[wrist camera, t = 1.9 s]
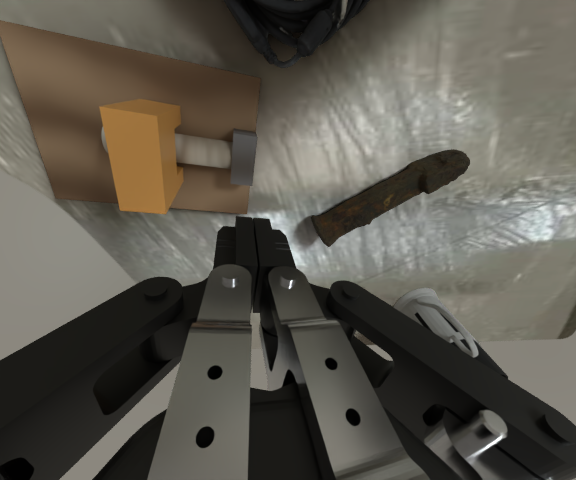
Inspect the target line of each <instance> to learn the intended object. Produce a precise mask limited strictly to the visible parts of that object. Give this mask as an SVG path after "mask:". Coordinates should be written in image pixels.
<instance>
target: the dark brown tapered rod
mask: <svg viewBox="0 0 576 480" xmlns="http://www.w3.org/2000/svg"><path fill="white" fill-rule="evenodd" d="M469 165H470V159H469V158H468V157H467V155H466V154H465V153H463V152H462V151H458V150H446V151H442V152H439V153H435V154H432V155H429V156H427V157H426V158H423V159H420V160H417V161H415V162H412V163H410V164H409V165H408V166H407V169H406V170H404V171H403V172H401V173H399V174H397V175H395V176H393V177H391V178H389V179H388V180H386V181H384V182H381V183H379V184H377V185H375V186H373V187H372V188H371V189H369V190H367V191H365V192H363V193H361V194H359V195H357V196H355V197H353V198H351V199H350V200H347V201H345V202H344V203H343V204H341V205H339V206H337V207H335V208H334V209H332V210H330V211H329V212H327V213H325V214H323V215H320V216H314V215H312V217H311V218H312V221H313V224H314V227H315V229H316V231H317V233H318V236H319V237H320V238H321V240H322V241H323V243H324V244H325V245H327V246H328V247H330V246H331V245H332V244H333V243H334V242H335V241H336V240H337V239H338V238H339V237H341V236H343V235H345V234H346V233H348V232H350V231H351V230H353V229H355V228H357V227H361V226H365V225H366V224H370V223H371V221H372V220H373V219H374V218H376V217H378V216H380V215H381V214H383V213H385V212H387V211H389V210H391V209H393V208H394V207H396V206H398V205H400V204H402V203H403V202H405V201H407V200H409V199H410V198H412V197H414V196H416V195H420V193H422V192H425V193H427V194H430V193H432V192H434V191H436V190H438V189H439V188H440V187H442V186H444V185H448V184H449V183H450V181H454V180H456V179H457V178H458V176H460V175H462V174H464V173H465V171H466V170H467V168H468V166H469Z"/></svg>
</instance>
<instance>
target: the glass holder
mask: <svg viewBox="0 0 576 480" xmlns="http://www.w3.org/2000/svg"><path fill="white" fill-rule="evenodd" d="M393 307H394V308H395V309H397V310H398V311H400V312H402V313H403V314H405V315H406V316H408V317H410V318H411V319H413V320H414V321H416V322H418V323H419V324H421V325H422V326H424V327H425V328H427V329H429V330H430V331H432V332H433V333H435V334H437V335H438V336H440V337H441V338H443V339H445V340H446V341H448V342H449V343H451V344H452V345H454V346H456V347H457V348H459V349H460V350H462V351H464V352H465V353H467V354H468V355H470V356H472V357H473V358H475V359H476V360H478V361H480V362H481V363H483V364H484V365H486V366H487V367H489V368H491V369H492V370H494V371H495V372H497V373H499V374H500V375H502V376H503V377H505V378H507V379H508V376H507V375H506V374H505V373H504V372H503V371H502V369H501V368H500V367H499V366H498V365H497V364H496V363H495V362H494V361H493V360H492V359H491V357H490V356H489V355H488V354H487V353H486V352H485V351H484V350H483V349H482V348H481V346H480V344H479V343H478V341H477V340H476V339H475V338H474V337H473V336H472V335H471V334H470V333H469V332H468V331H467V330H466V328H465V327H464V326H463V325H462V324H461V323H460V322H459V321H458V320H457V319H456V318H455V317H454V315H453V314H452V313H451V312H450V311H449V310H448V309H447V308H446V307H445V306H444V305H443V304H442V302H441V301H440V300H439V299H438V298H437V294H436V292H435V291H434V290H432V289H430V288H419V289H416V290H413V291H410V292H408V293H407V294H405V295H404V296H402V297H401V298H400V299H399V300H398V301H397V302H396V303H395V305H394V306H393Z"/></svg>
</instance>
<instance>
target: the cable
mask: <svg viewBox="0 0 576 480" xmlns="http://www.w3.org/2000/svg"><path fill="white" fill-rule="evenodd" d="M368 1H369V0H303V1H294V0H224V2H225V3H226V5H227V6H228V8H229V9H230V11H231V13H232V14H233V16H234V17H235V19H236V20H237V22H238V23H239V25H240V26H241V28H242V29H243V31H244V32H245V34H246V36H247V37H248V39H249V40H250V42H251V43H252V44H253V46H254V47H255V48H256V50H257V51H258V52H259V53H261V54H263V55H264V57H265V59H266V60H267V61H268V62H269V63H270V64H275V65H276V66H278V67H281V68H286V67H290V66H291V65H293V64H294V63H296V62H297V61H298V60H299V59H300V58H301V57H306V56H310V55H312V54H313V52H314V51H315V49H316V48H317V47H318V46H319V45H321V44H323V43H324V42H326V41H327V40H328V39H330V38H331V37H332V36H333V35H334V34H335V33H336V31H338V30H339V29H340V28H342V27H343V26H344V25H345V24H346V23H347V22H348V21H349V20H350V19H351V18H353V17H354V16H355V15H357V14H358V13H359V12H360V11H361V10H362V9H363V8H364V7H365V5H366V4H367V3H368ZM292 32H302V35H301V36H300V37H299V38H298V39H297V38H294V37H292V36H293V35H292ZM269 33H270V34H271V35H273V36H274V37H275V38H276V39H278V40H279V41H280V42H282V43H284V44H286V45H288V46H291V47H294V48H297V49H296V50H297V53H296V54H295V55H294V56H293V57H292V58H291V59H290V60H288V61H286V62H282V61H279V60H278V59H277V55H276V54H275V53H274V52H273V50H272V49H271V48H270V45H269V43H268V40H267V39H268V34H269Z"/></svg>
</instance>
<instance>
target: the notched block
mask: <svg viewBox="0 0 576 480" xmlns="http://www.w3.org/2000/svg"><path fill="white" fill-rule="evenodd" d="M99 108H100V113H101V118H102V123H103V128H104V133H105V138H106V143H107V148H108V153H109V158H110V163H111V168H112V173H113V178H114V183H115V188H116V193H117V198H118V203H119V208H120V211H132V212H145V213H158V214H166V213H167V211H168V209H169V207H170V206H171V204H172V202H173V200H174V198H175V196H176V194H177V192H178V191H179V189H180V187H181V185H182V183H183V181H184V180H183V167H179V166H177V164H176V147H175V131H174V129H175V128H176V127H178V126H179V125H180V124H181V114H180V106H178V105H172V104H167V103H161V102H155V101H150V100H144V99H137V100H132V101H126V102H121V103H115V104H110V105H104V106H99Z"/></svg>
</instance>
